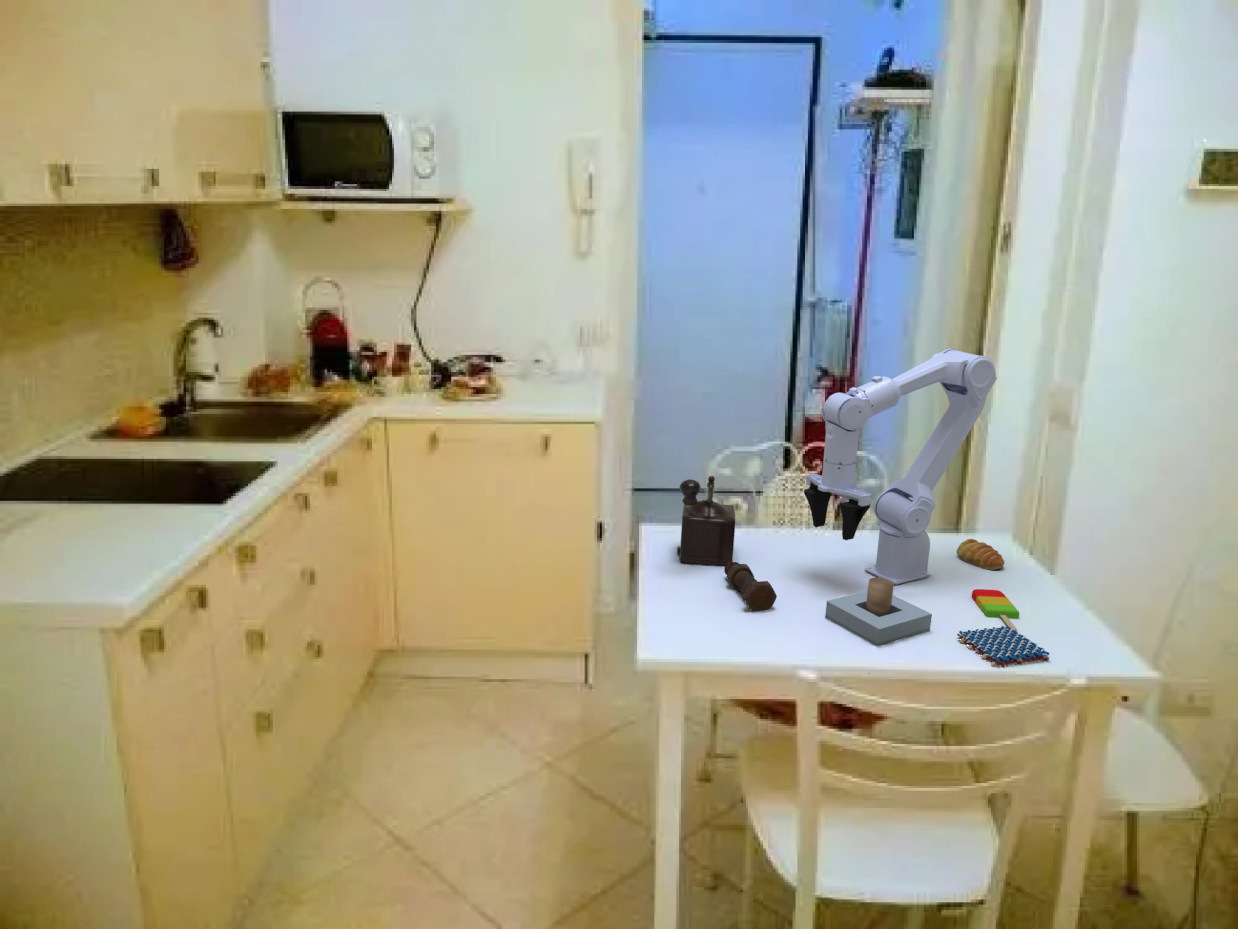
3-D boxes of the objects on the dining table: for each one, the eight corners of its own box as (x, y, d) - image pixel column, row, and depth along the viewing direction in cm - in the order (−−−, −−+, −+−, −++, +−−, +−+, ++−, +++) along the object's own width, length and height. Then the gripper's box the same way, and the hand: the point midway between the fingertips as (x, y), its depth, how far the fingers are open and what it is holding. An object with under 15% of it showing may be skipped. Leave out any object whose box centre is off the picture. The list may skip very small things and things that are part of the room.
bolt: (734, 587, 171) (764, 618, 157) (712, 575, 169) (741, 607, 155) (750, 560, 170) (782, 590, 156) (728, 549, 169) (759, 578, 154)
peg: (875, 614, 155) (879, 575, 153) (894, 622, 152) (898, 583, 150) (859, 619, 152) (863, 580, 151) (878, 628, 149) (882, 588, 148)
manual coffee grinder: (677, 544, 186) (681, 460, 181) (732, 547, 185) (737, 462, 180) (675, 573, 171) (678, 482, 166) (734, 577, 170) (739, 485, 165)
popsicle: (1000, 598, 165) (1001, 589, 164) (1030, 636, 150) (1032, 625, 150) (969, 597, 165) (970, 587, 164) (996, 634, 150) (998, 624, 150)
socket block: (876, 603, 160) (877, 587, 159) (929, 630, 150) (932, 614, 149) (825, 617, 154) (826, 601, 153) (877, 646, 144) (879, 629, 143)
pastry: (1012, 569, 178) (1015, 551, 177) (986, 574, 175) (988, 556, 174) (976, 553, 186) (979, 535, 185) (951, 557, 183) (953, 539, 182)
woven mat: (1006, 634, 151) (1008, 623, 150) (1051, 664, 141) (1053, 652, 140) (952, 640, 148) (953, 629, 148) (994, 671, 138) (996, 659, 138)
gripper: (795, 453, 166) (790, 523, 170) (852, 473, 154) (845, 548, 158) (824, 449, 170) (818, 518, 174) (882, 468, 158) (874, 542, 162)
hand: (833, 532), depth 166 cm, fingers open, 7 cm apart
